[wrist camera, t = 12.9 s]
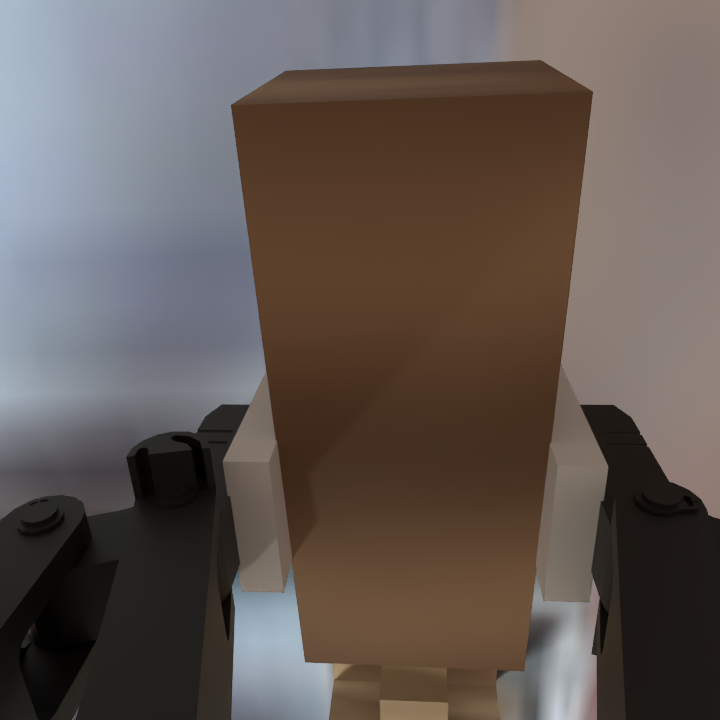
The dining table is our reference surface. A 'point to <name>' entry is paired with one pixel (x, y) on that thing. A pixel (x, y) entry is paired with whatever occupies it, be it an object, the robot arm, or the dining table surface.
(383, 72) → the walnut bar
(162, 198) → the dining table surface
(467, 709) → the birch cradle
